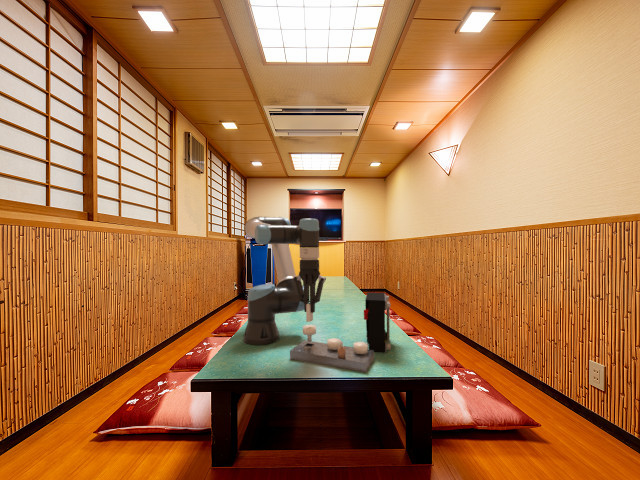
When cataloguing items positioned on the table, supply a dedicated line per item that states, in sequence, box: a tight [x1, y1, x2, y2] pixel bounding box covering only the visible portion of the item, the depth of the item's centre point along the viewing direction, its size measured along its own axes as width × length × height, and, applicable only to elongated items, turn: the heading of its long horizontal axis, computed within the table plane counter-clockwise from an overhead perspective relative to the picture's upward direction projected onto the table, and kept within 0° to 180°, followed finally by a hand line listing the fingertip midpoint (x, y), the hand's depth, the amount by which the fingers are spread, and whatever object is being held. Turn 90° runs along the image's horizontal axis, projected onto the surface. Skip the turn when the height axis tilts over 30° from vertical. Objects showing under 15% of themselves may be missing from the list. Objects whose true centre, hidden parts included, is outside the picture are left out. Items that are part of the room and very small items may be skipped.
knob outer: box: [352, 341, 369, 355], centre depth 103 cm, size 5×5×6 cm
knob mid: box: [326, 337, 341, 350], centre depth 106 cm, size 5×5×6 cm
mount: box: [289, 340, 375, 373], centre depth 105 cm, size 28×12×3 cm, turn 67°
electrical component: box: [363, 291, 392, 354], centre depth 119 cm, size 18×10×20 cm, turn 168°
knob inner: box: [302, 324, 317, 342], centre depth 110 cm, size 5×5×6 cm
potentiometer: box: [338, 341, 345, 358], centre depth 99 cm, size 3×3×5 cm
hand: (309, 320), depth 110 cm, fingers closed
